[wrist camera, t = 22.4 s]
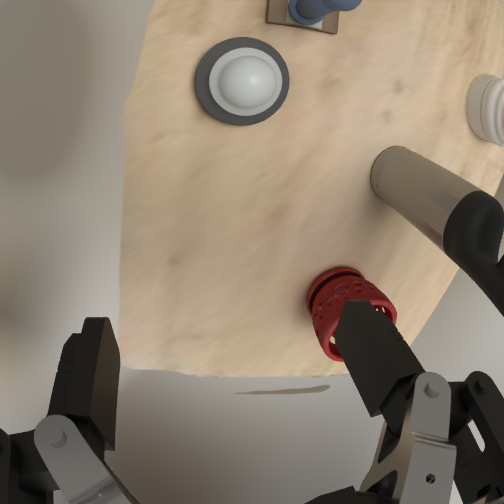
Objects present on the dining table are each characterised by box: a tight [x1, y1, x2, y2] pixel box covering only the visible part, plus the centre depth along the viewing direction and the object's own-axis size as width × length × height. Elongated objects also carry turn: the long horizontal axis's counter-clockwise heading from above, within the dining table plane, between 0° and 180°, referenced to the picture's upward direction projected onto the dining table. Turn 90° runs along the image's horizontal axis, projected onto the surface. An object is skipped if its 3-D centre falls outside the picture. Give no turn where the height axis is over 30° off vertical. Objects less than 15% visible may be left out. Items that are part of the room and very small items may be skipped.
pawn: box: [288, 0, 362, 25], centre depth 24 cm, size 4×4×12 cm
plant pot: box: [307, 268, 397, 362], centre depth 50 cm, size 13×13×12 cm
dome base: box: [195, 37, 289, 126], centre depth 33 cm, size 11×11×2 cm
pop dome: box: [209, 48, 282, 116], centre depth 30 cm, size 8×8×6 cm
